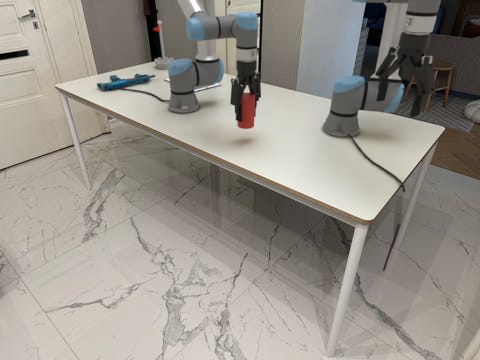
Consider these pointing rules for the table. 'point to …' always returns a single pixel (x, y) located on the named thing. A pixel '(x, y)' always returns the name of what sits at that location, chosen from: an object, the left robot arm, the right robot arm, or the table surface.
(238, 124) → the canister
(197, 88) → the tablet
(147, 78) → the submachine gun
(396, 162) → the table surface
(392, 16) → the right robot arm
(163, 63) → the flag stand
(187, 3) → the left robot arm
